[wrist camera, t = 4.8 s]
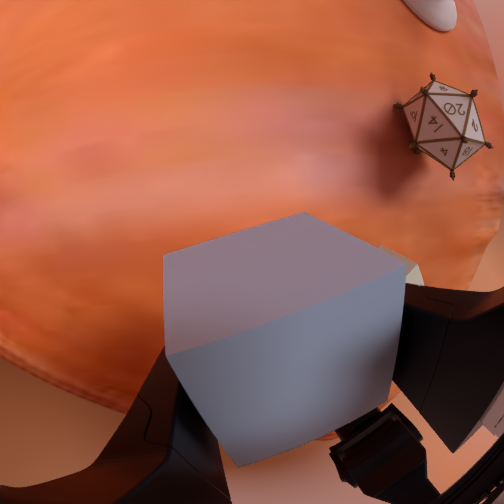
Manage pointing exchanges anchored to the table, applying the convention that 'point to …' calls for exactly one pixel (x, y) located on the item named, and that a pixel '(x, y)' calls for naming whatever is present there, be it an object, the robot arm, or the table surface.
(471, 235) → the table surface
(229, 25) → the table surface
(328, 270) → the slate blue cube
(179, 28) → the table surface
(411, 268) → the sage cube
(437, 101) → the game die
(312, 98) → the table surface
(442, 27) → the candlestick
